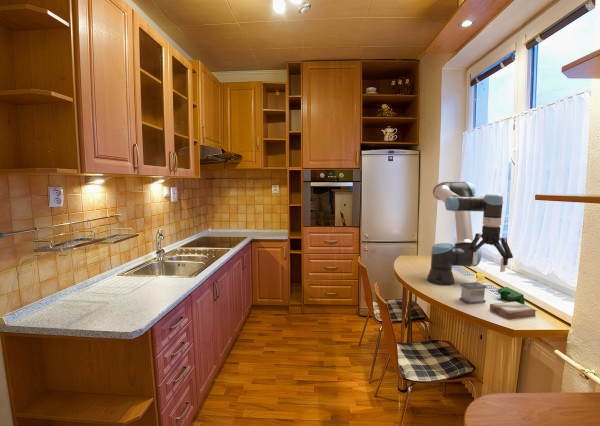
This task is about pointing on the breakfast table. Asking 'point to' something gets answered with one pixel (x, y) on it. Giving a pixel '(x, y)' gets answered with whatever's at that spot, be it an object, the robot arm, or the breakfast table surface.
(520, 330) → the breakfast table surface
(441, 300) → the breakfast table surface
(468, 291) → the block
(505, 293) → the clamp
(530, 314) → the stand
